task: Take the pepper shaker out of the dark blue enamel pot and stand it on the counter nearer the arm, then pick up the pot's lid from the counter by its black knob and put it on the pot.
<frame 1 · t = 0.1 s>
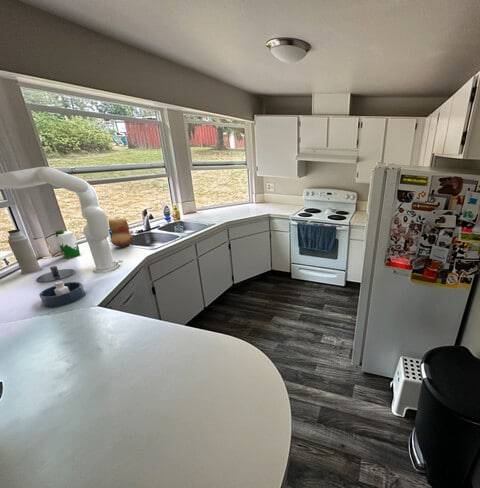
milk carton: (72, 256, 185), on the table
thermos bottle: (32, 271, 161), on the table
lid: (56, 275, 155), point 1 cm above the table
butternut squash: (124, 246, 205), on the table
pepper shaker: (64, 298, 133), resting on pot
pot: (65, 298, 133), on the table
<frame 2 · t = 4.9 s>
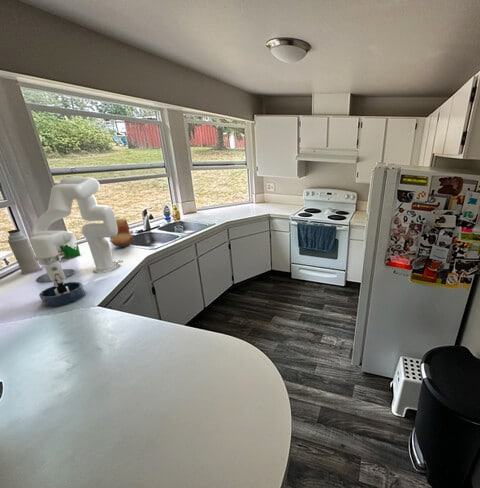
hand: (61, 290, 131), 5 cm above the table, tool pointing down, fingers closed on pepper shaker, 5 cm apart
pepper shaker: (64, 298, 133), resting on pot, touching gripper
everything else where it was.
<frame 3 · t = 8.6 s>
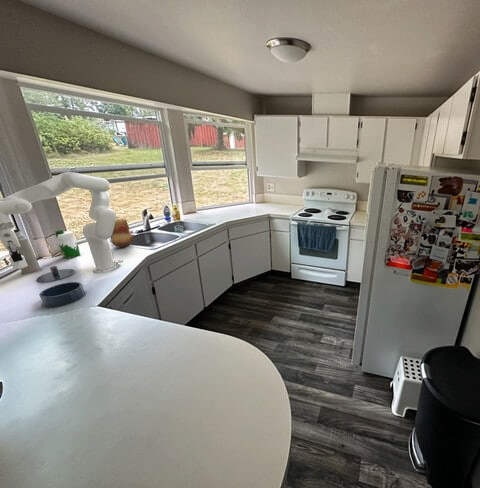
hand: (17, 259, 129), 21 cm above the table, tool pointing down, fingers closed on pepper shaker, 5 cm apart
pepper shaker: (21, 267, 131), point 16 cm above the table, touching gripper
everything else where it was.
when the fingers open (5 cm above the table, at t = 12.8 s): pepper shaker stays where it is, on the table.
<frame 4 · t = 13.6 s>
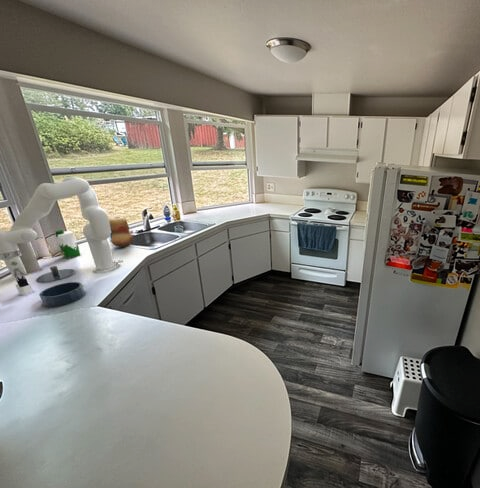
hand: (22, 283, 135), 6 cm above the table, tool pointing down, fingers open, 9 cm apart
pepper shaker: (27, 293, 137), on the table
everything else where it was.
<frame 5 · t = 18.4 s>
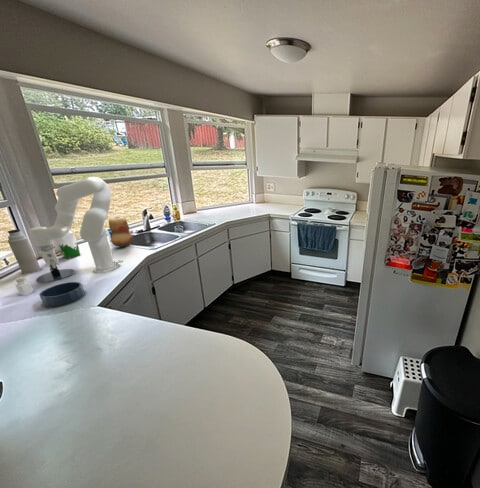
hand: (56, 274, 155), 1 cm above the table, tool pointing down, fingers closed on lid, 3 cm apart
lid: (56, 275, 155), point 1 cm above the table, touching gripper
everything else where it was.
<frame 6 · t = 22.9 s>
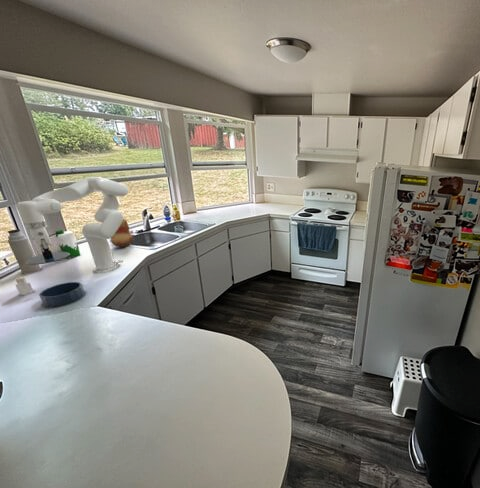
hand: (48, 257, 137), 19 cm above the table, tool pointing down, fingers closed on lid, 3 cm apart
lid: (48, 258, 137), point 19 cm above the table, touching gripper
everything else where it was.
when the fingers open (7 cm above the table, at t = 27.8 s): lid stays where it is, resting on pot.
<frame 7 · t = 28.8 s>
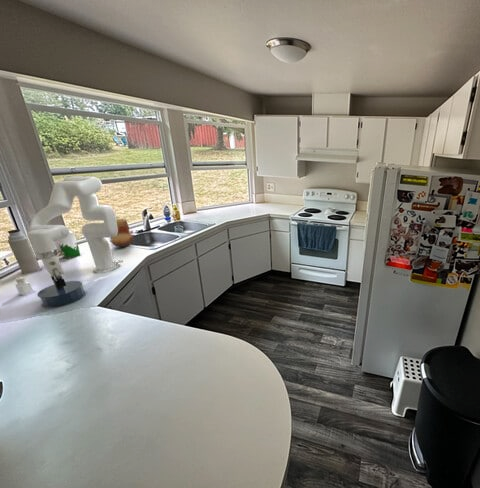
hand: (59, 283, 131), 9 cm above the table, tool pointing down, fingers open, 9 cm apart
lid: (60, 289, 131), point 6 cm above the table, touching pot
everything else where it was.
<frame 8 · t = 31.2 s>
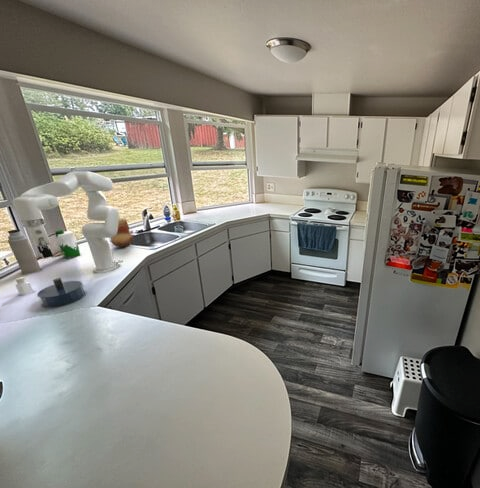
hand: (46, 254, 127), 24 cm above the table, tool pointing down, fingers open, 9 cm apart
nothing on the table moved.
at the end: pepper shaker inside the target area (0.1 cm from its centre), on the table; pepper shaker tilted 0°; lid 0.1 cm off-centre on the pot, point 5.9 cm above the pot's base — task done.
